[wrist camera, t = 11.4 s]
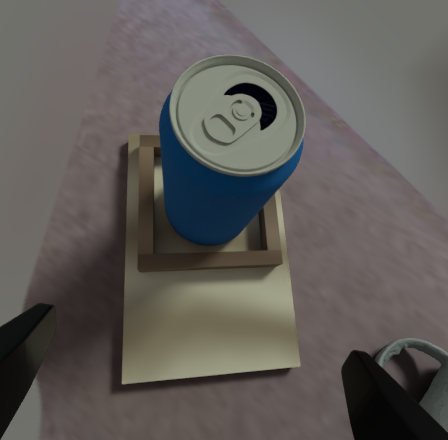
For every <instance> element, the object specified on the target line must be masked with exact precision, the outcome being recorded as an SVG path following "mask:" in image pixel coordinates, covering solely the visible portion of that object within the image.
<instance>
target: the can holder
mask: <svg viewBox="0 0 448 440" xmlns="http://www.w3.org/2000/svg"><path fill="white" fill-rule="evenodd" d="M290 367H300V357H299V349H298V340H297V332H296V323H295V315H294V307H293V298H292V290H291V281H290V273H289V264H288V256H287V247H286V239H285V231H284V222H283V214H282V205H281V197H280V188H279V189H278V190H277V191H276V193H275V194H274V195H273V196H272V197H271V198H270V200H269V201H268V202H267V203H266V204H265V205H264V206H263V208H262V209H261V210H260V211H259V212H258V213H257V215H256V216H255V217H254V218H253V219H252V220H251V221H250V223H249V224H248V225H247V226H246V227H245V228H244V230H243V231H242V232H241V233H240V234H239V235H238V236H237V237H235V238H234V239H232V240H231V241H229V242H227V243H224V244H221V245H216V246H203V245H198V244H195V243H192V242H190V241H188V240H186V239H184V238H183V237H182V236H180V235H179V234H178V233H177V232H176V231H175V230H174V228H173V227H172V226H171V224H170V222H169V220H168V218H167V215H166V212H165V204H164V190H163V175H162V161H161V147H160V134H131V133H129V143H128V179H127V214H126V250H125V285H124V321H123V357H122V384H130V383H140V382H150V381H160V380H170V379H180V378H190V377H200V376H210V375H220V374H230V373H240V372H250V371H260V370H270V369H280V368H290Z"/></svg>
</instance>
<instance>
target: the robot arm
mask: <svg viewBox="0 0 448 440" xmlns="http://www.w3.org/2000/svg"><path fill="white" fill-rule="evenodd" d="M55 330H56V309H55V306H54V305H51V304H44V303H39V304H36V305H35V306H33V307H32V308H30V309H28V310H27V311H25V312H23V313H22V314H20V315H19V316H17V317H15V318H14V319H12V320H11V321H9V322H7V323H6V324H4V325H2V326H1V327H0V439H1V438H2V436H3V434H4V432H5V431H6V429H7V427H8V426H9V424H10V422H11V420H12V419H13V417H14V415H15V413H16V412H17V410H18V408H19V406H20V405H21V403H22V401H23V399H24V398H25V396H26V394H27V392H28V390H29V389H30V387H31V385H32V382H33V380H34V378H35V376H36V374H37V371H38V369H39V367H40V365H41V362H42V360H43V358H44V356H45V354H46V351H47V349H48V347H49V345H50V342H51V340H52V338H53V336H54V333H55ZM341 374H342V380H343V386H344V391H345V397H346V402H347V408H348V413H349V419H350V423H351V428H352V432H353V435H354V439H355V440H448V432H447V431H446V430H445V429H444V428H443V427H442V426H441V425H440V424H439V423H438V422H437V421H436V420H435V419H434V418H433V417H432V416H431V415H430V414H429V413H428V412H427V411H426V410H425V409H424V408H423V407H422V406H421V405H420V404H419V403H418V402H417V401H416V400H415V399H413V398H412V397H411V396H410V395H409V394H408V393H407V392H406V391H405V390H404V389H403V388H402V387H401V386H400V385H399V384H398V383H397V382H396V381H395V380H394V379H393V378H392V377H391V376H390V375H389V374H388V373H387V372H386V371H385V370H384V369H383V368H382V367H381V366H380V365H379V364H378V363H377V362H376V361H375V360H374V359H373V358H372V357H371V356H370V355H369V354H368V353H366V352H364V351H358V350H353V351H351V353H350V354H349V356H348V357H347V359H346V361H345V362H344V364H343V366H342V370H341Z"/></svg>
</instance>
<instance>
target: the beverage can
mask: <svg viewBox="0 0 448 440" xmlns="http://www.w3.org/2000/svg"><path fill="white" fill-rule="evenodd" d="M305 126H306V117H305V110H304V107H303V103H302V101H301V99H300V96H299V94H298V93H297V91H296V89H295V88H294V87H293V85H292V84H291V83H290V82H289V81H288V79H287V78H286V77H285V76H283V75H282V74H281V73H280V72H279V71H277V70H276V69H274V68H273V67H271V66H270V65H268V64H266V63H264V62H262V61H259V60H257V59H254V58H250V57H247V56H241V55H218V56H213V57H209V58H206V59H203V60H201V61H199V62H197V63H195V64H193V65H192V66H191V67H189V68H188V69H187V70H186V71H185V72H184V73H183V74H182V75H181V76H180V77H179V79H178V80H177V82H176V84H175V85H174V87H173V90H172V91H171V93H170V94H169V95H168V97H167V99H166V101H165V103H164V105H163V108H162V111H161V115H160V121H159V132H160V147H161V161H162V175H163V190H164V204H165V212H166V215H167V218H168V220H169V222H170V224H171V226H172V227H173V228H174V230H175V231H176V232H177V233H178V234H179V235H180V236H182V237H183V238H184V239H186V240H188V241H190V242H192V243H195V244H198V245H203V246H216V245H221V244H224V243H227V242H229V241H231V240H232V239H234V238H235V237H237V236H238V235H239V234H240V233H241V232H242V231H243V230H244V228H245V227H246V226H247V225H248V224H249V223H250V221H251V220H252V219H253V218H254V217H255V216H256V215H257V213H258V212H259V211H260V210H261V209H262V208H263V206H264V205H265V204H266V203H267V202H268V201H269V200H270V198H271V197H272V196H273V195H274V194H275V193H276V191H277V190H278V189H279V188H280V187H281V186H282V185H283V183H284V182H285V181H286V180H287V179H288V178H289V176H290V175H291V174H292V173H293V171H294V170H295V168H296V166H297V164H298V162H299V160H300V156H301V153H302V149H303V136H304V133H305Z"/></svg>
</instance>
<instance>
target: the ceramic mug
mask: <svg viewBox="0 0 448 440" xmlns="http://www.w3.org/2000/svg"><path fill="white" fill-rule="evenodd" d="M405 347H409V348H415V349H417V350H419V351H423V352H425V353H426V354H428V355H430V356H432V357H433V358H435V359H436V360H438V361H439V362H440V363H441V367H440V368H439V370H438V372H437V374H436V375H435V377H434V378H433V381H432V383H431V385H430V387H429V389H428V391H427V392H426V394H425V395H424V397H423V398H422V400H421V401H420V403H419V404H420V405H421V406H422V407H423V408H424V409H425V410H426V411H427V412H428V413H429V414H430V415H431V416H432V417H433V418H434V419H435V420H436V421H437V422H438V423H439V424H440V425H441V426H442V427H443V428H444V429H445V430H446V431H447V432H448V353H447V352H446V351H444V350H442V349H441V348H440V347H438V346H435V345H434V344H432V343H430V342H427V341H424V340H421V339H416V338H403V339H398V340H395V341H393V342H391V343H390V344H388V345H387V346H385V347H384V348H383V349H382V350H381V351H380V352H379V353H378V355H377V356H376V358H375V361H376V362H377V363H378V364H379V365H380V366H381V367H383V366H384V365H385V363H386V362H387V361H388V360H389V359H390V358H391V357H392V356H393V355H396V354H399V353H400V351H401V349H403V348H405Z"/></svg>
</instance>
